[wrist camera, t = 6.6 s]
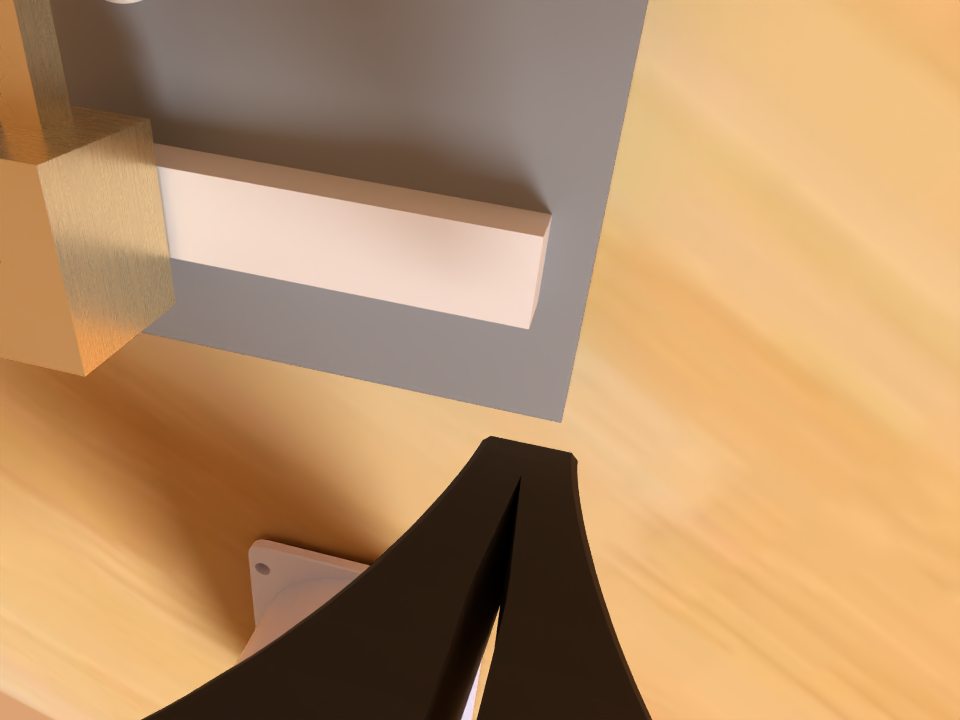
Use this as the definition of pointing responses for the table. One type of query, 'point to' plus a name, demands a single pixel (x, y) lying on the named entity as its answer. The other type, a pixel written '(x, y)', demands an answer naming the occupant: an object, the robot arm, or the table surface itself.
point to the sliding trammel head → (72, 211)
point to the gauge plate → (375, 176)
